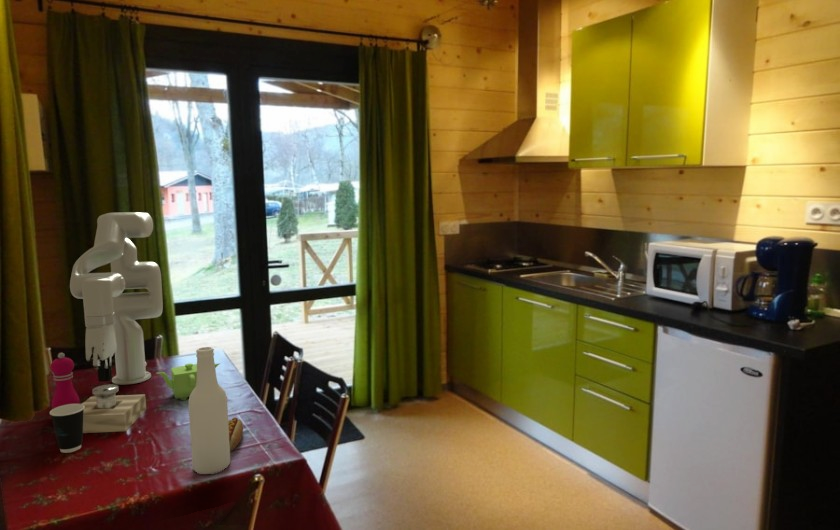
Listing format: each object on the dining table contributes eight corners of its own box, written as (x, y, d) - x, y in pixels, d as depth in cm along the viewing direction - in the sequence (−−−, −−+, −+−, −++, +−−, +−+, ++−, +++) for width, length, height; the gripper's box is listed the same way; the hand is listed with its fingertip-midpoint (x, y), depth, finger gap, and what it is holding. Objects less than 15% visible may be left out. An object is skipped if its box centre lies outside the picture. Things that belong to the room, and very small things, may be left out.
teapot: (157, 400, 187) (155, 369, 186) (182, 387, 200) (180, 357, 199) (200, 403, 184) (198, 371, 183) (222, 389, 197) (220, 359, 196)
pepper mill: (67, 422, 170) (61, 356, 167) (46, 420, 171) (40, 355, 169) (86, 413, 177) (80, 350, 174) (66, 411, 179) (60, 348, 176)
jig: (92, 412, 178) (91, 396, 177) (146, 409, 179) (145, 394, 179) (66, 433, 162) (64, 416, 161) (125, 431, 164) (124, 414, 163)
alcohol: (225, 475, 138) (218, 353, 134) (187, 476, 137) (179, 354, 133) (234, 458, 147) (228, 343, 143) (198, 459, 146) (191, 344, 142)
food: (225, 433, 162) (224, 416, 162) (245, 431, 163) (244, 414, 163) (216, 455, 149) (215, 436, 148) (238, 453, 150) (237, 435, 149)
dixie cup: (50, 457, 148) (46, 416, 146) (56, 445, 155) (52, 406, 153) (86, 452, 151) (82, 411, 149) (89, 440, 158) (86, 401, 156)
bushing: (101, 417, 174) (98, 384, 172) (124, 416, 174) (122, 383, 173) (90, 426, 167) (87, 392, 166) (115, 425, 168) (112, 391, 166)
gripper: (97, 314, 174) (103, 372, 177) (73, 326, 159) (79, 390, 162) (123, 313, 175) (128, 371, 177) (102, 326, 160) (107, 389, 163)
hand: (105, 380), depth 170 cm, fingers closed
